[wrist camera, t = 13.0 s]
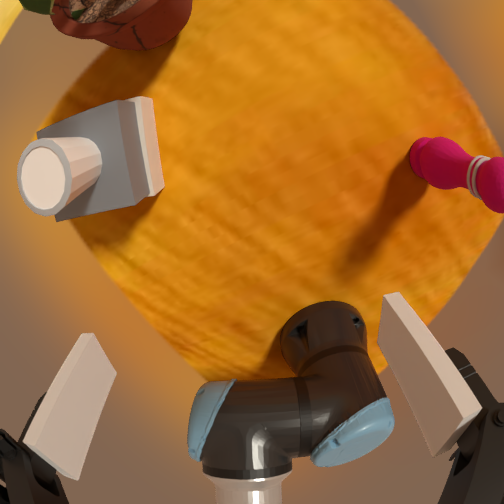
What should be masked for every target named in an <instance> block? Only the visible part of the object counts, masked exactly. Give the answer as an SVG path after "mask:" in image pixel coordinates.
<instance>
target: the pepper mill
mask: <svg viewBox="0 0 504 504" xmlns="http://www.w3.org/2000/svg"><path fill="white" fill-rule="evenodd" d="M410 164H411V167H412V169H413V171H414V173H415V174H416V175H418V176H419V177H421V178H424V179H426V181H427V182H428V183H429V184H431V185H432V186H434V187H436V188H439V189H444V190H445V189H454V188H457V187H463V188H466V189H469V191H470V193H471V194H472V195H473V196H474V197H477V198H479V199H480V200H483V202H484V203H485V205H486V206H487V207H488V208H489V209H491V210H492V211H494V212H497V213H504V158H503V157H493V158H489V157H485V156H481V155H480V156H477V157H472V156H470V155H469V154H467V153H466V152H465V151H464V150H463V149H462V148H461V147H460V146H459V145H458V144H457V143H455V142H454V141H452V140H450V139H447V138H444V137H435V138H433V139H432V138H427V137H423V138H420V139H418V140H417V141H416V142H415V143H414V144H413V146H412V148H411V151H410Z"/></svg>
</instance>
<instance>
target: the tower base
mask: <svg viewBox="0 0 504 504" xmlns="http://www.w3.org/2000/svg"><path fill="white" fill-rule="evenodd" d="M123 101H131V102H135V108H136V115H137V122H138V129H139V135H140V141H141V147H142V153H143V158H144V164H145V169H146V174H147V179H148V184H149V189H150V193H149V194H148V195H147V196H146V197H149V196H155V195H156V194H157V193H158V192H159V191H160V190H162V189H163V188H164V187H165V186H164V180H163V174H162V167H161V161H160V154H159V147H158V140H157V133H156V125H155V117H154V108H153V99H152V98H147V97H143V96H138V97H134V98H130V99H127V100H123Z"/></svg>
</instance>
